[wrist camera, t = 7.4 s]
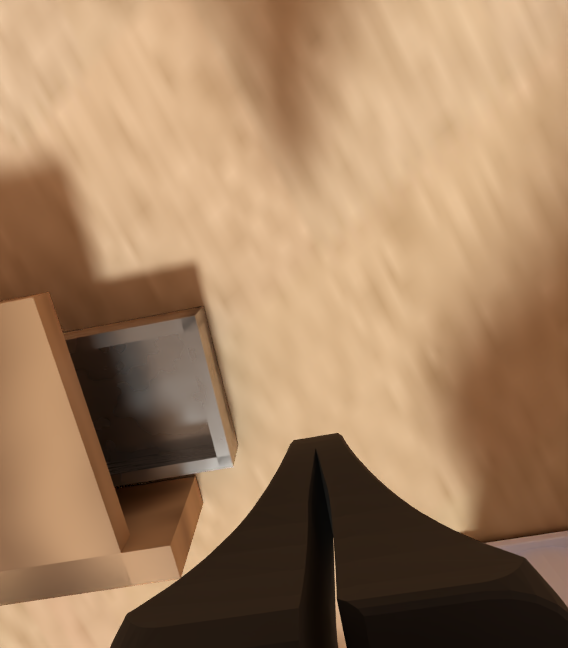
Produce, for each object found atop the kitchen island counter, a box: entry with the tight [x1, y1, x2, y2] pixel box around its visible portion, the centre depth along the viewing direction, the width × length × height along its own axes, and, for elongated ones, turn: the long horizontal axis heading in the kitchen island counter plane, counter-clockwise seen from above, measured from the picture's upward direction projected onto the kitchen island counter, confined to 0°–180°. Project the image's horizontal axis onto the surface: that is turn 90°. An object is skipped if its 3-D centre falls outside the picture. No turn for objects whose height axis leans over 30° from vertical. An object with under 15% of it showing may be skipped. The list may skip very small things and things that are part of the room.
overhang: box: [0, 292, 203, 606], centre depth 18 cm, size 10×12×5 cm
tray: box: [63, 306, 238, 487], centre depth 20 cm, size 10×7×2 cm
